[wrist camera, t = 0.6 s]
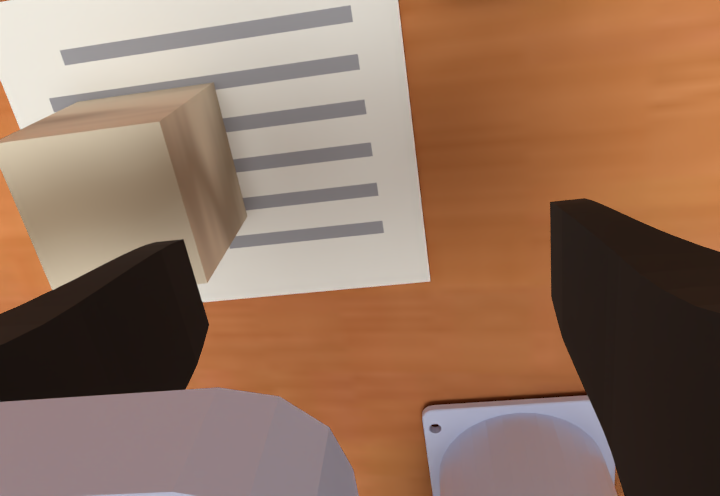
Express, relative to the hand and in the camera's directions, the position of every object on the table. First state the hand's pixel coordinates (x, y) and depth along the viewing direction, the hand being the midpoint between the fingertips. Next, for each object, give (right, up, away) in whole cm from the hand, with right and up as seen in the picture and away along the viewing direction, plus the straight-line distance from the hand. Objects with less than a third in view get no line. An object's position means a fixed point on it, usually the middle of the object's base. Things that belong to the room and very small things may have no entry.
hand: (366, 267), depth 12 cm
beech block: (-7, +3, +10) cm, 13 cm away
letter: (-5, +4, +10) cm, 12 cm away
